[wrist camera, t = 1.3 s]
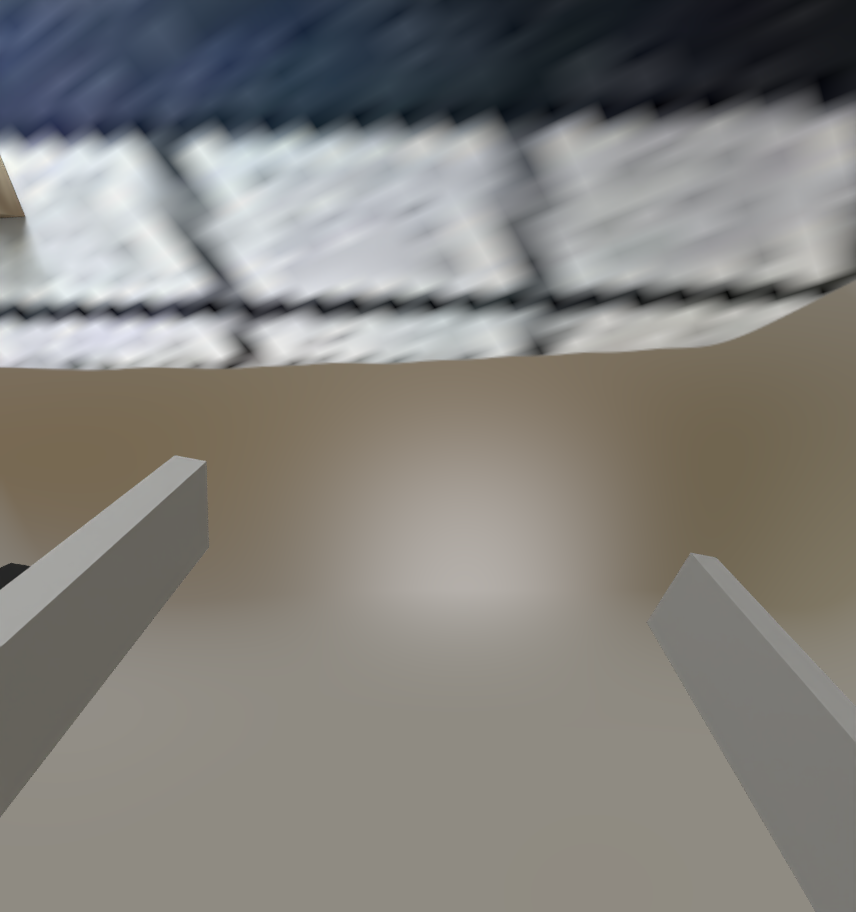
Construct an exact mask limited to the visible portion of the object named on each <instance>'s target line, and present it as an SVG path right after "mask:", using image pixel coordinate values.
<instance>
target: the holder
mask: <svg viewBox="0 0 856 912" xmlns="http://www.w3.org/2000/svg"><path fill="white" fill-rule="evenodd" d="M9 217H25V215H24V213H23V210H22V208H21V206H20V203H19V201H18V198H17V196H16V193H15V191H14V189H13V186H12V184H11V181H10V179H9V176H8V174H7V172H6V169H5V167H4V164H3V162H2V159H1V157H0V218H9Z"/></svg>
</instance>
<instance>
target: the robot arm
mask: <svg viewBox="0 0 856 912" xmlns="http://www.w3.org/2000/svg"><path fill="white" fill-rule="evenodd" d="M208 548H209V538H208V502H207V466H206V461H202V460H197V459H191V458H186V457H181V456H176V455H175V456H173V457H172V458H171V459H170V460H168V461H167V462H166V463H164V464H163V465H162V466H161V467H159V468H158V469H157V470H155V471H154V472H153V473H151V474H150V475H149V476H148V477H146V478H145V479H144V480H142V481H141V482H140V483H139V484H137V485H136V486H134V488H132V489H131V490H129V491H128V492H127V493H125V494H124V495H123V496H122V497H120V498H119V499H118V500H116V501H115V502H114V503H112V504H111V505H110V506H109V507H107V508H106V509H105V510H103V511H102V512H101V513H99V514H98V515H97V516H96V517H95V518H93V519H92V520H90V521H89V522H88V523H86V525H84V526H83V527H81V528H80V529H79V530H77V531H76V532H75V533H74V534H72V535H71V536H70V537H68V538H67V539H66V540H65V541H63V542H62V543H60V544H59V545H58V546H57V547H55V548H54V549H53V550H52V551H50V552H49V553H48V554H46V555H45V556H44V557H42V558H41V559H40V560H39V561H37V562H36V563H35V564H33V565H32V566H26V565H20V564H14V563H10V564H8V565H5V566H3V567H1V568H0V817H1V815H2V814H3V813H4V812H5V810H6V809H7V808H8V807H9V805H10V804H11V802H12V801H13V800H14V799H15V798H16V796H17V795H18V794H19V792H20V791H21V790H22V788H23V787H24V786H25V785H26V783H27V782H28V781H29V779H30V778H31V777H32V775H33V774H34V773H35V772H36V770H37V769H38V768H39V766H40V765H41V764H42V762H43V761H44V760H45V759H46V757H47V756H48V755H49V753H50V752H51V751H52V750H53V748H54V747H55V746H56V744H57V743H58V742H59V741H60V739H61V738H62V737H63V735H64V734H65V733H66V731H67V730H68V729H69V728H70V726H71V725H72V724H73V722H74V721H75V720H76V719H77V717H78V716H79V715H80V713H81V712H82V711H83V709H84V708H85V707H86V706H87V704H88V703H89V701H90V700H91V699H92V698H93V696H94V695H95V694H96V693H97V691H98V690H99V689H100V687H101V686H102V685H103V684H104V682H105V681H106V680H107V678H108V677H109V676H110V674H111V673H112V672H113V671H114V669H115V668H116V667H117V665H118V664H119V663H120V662H121V660H122V659H123V658H124V656H125V655H126V654H127V652H128V651H129V650H130V649H131V647H132V646H133V645H134V643H135V642H136V641H137V639H138V638H139V637H140V636H141V634H142V633H143V632H144V630H145V629H146V628H147V627H148V625H149V624H150V623H151V621H152V620H153V619H154V617H155V616H156V615H157V614H158V612H159V611H160V610H161V608H162V607H163V606H164V605H165V603H166V602H167V601H168V599H169V598H170V597H171V595H172V594H173V593H174V592H175V590H176V589H177V588H178V586H179V585H180V584H181V582H182V581H183V580H184V578H185V577H186V576H187V575H188V573H189V572H190V571H191V569H192V568H193V567H194V566H195V564H196V563H197V562H198V560H199V559H200V558H201V557H202V555H203V554H204V553H205V551H206V550H207V549H208ZM647 623H648V625H649V627H650V629H651V631H652V632H653V634H654V635H655V637H656V639H657V641H658V643H659V644H660V646H661V648H662V649H663V651H664V653H665V655H666V656H667V658H668V660H669V661H670V663H671V665H672V667H673V668H674V670H675V672H676V673H677V675H678V677H679V679H680V680H681V682H682V683H683V685H684V687H685V689H686V691H687V692H688V694H689V696H690V697H691V699H692V701H693V703H694V704H695V706H696V708H697V709H698V711H699V713H700V715H701V716H702V718H703V720H704V721H705V723H706V725H707V727H708V728H709V730H710V732H711V733H712V735H713V737H714V738H715V740H716V742H717V744H718V745H719V747H720V749H721V750H722V752H723V754H724V756H725V757H726V759H727V761H728V763H729V764H730V766H731V768H732V769H733V771H734V773H735V775H736V776H737V778H738V780H739V781H740V783H741V785H742V787H743V788H744V790H745V792H746V794H747V795H748V797H749V799H750V800H751V802H752V804H753V806H754V807H755V809H756V810H757V812H758V814H759V816H760V818H761V819H762V821H763V822H764V824H765V826H766V828H767V830H768V831H769V833H770V835H771V836H772V838H773V840H774V841H775V843H776V845H777V847H778V848H779V850H780V852H781V854H782V855H783V857H784V859H785V860H786V862H787V864H788V866H789V867H790V869H791V871H792V872H793V874H794V876H795V878H796V879H797V881H798V883H799V884H800V886H801V888H802V889H803V891H804V893H805V895H806V896H807V898H808V900H809V901H810V903H811V905H812V907H813V908H814V910H815V912H856V706H855V705H854V704H853V703H852V702H851V700H850V699H849V698H848V697H847V696H846V695H845V694H844V693H843V692H842V691H841V690H840V689H839V688H838V687H837V686H836V685H835V683H834V682H833V681H832V680H831V679H830V678H829V677H828V676H827V675H826V674H825V673H824V672H823V671H822V670H821V669H820V667H819V666H818V665H817V664H816V663H815V662H814V661H813V660H812V659H811V658H810V657H809V656H808V655H807V654H806V653H805V652H804V650H803V649H802V648H801V647H800V646H799V645H798V644H797V643H796V642H795V641H794V640H793V639H792V638H791V637H790V636H789V635H788V634H787V633H786V631H785V630H784V629H783V628H782V627H781V626H780V625H779V624H778V623H777V622H776V621H775V620H774V619H773V617H772V616H771V615H770V614H769V613H768V612H767V611H766V610H765V609H764V608H763V607H762V606H761V605H760V604H759V603H758V602H757V600H755V598H754V597H753V596H752V595H751V594H750V593H749V592H748V591H747V590H746V589H745V588H744V587H743V586H742V585H741V583H740V582H739V581H738V580H737V579H736V578H735V577H734V576H733V575H732V574H731V573H730V572H729V571H728V570H727V568H726V567H725V566H724V565H723V564H722V563H721V562H720V561H719V560H718V559H717V558H716V557H711V556H705V555H700V554H695V553H690V555H689V556H688V558H687V559H686V561H685V563H684V564H683V566H682V567H681V569H680V571H679V572H678V574H677V576H676V577H675V579H674V580H673V582H672V583H671V585H670V586H669V588H668V590H667V591H666V593H665V594H664V596H663V598H662V599H661V601H660V602H659V604H658V606H657V607H656V609H655V610H654V612H653V614H652V615H651V617H650V618H649V620H648V621H647Z"/></svg>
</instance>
